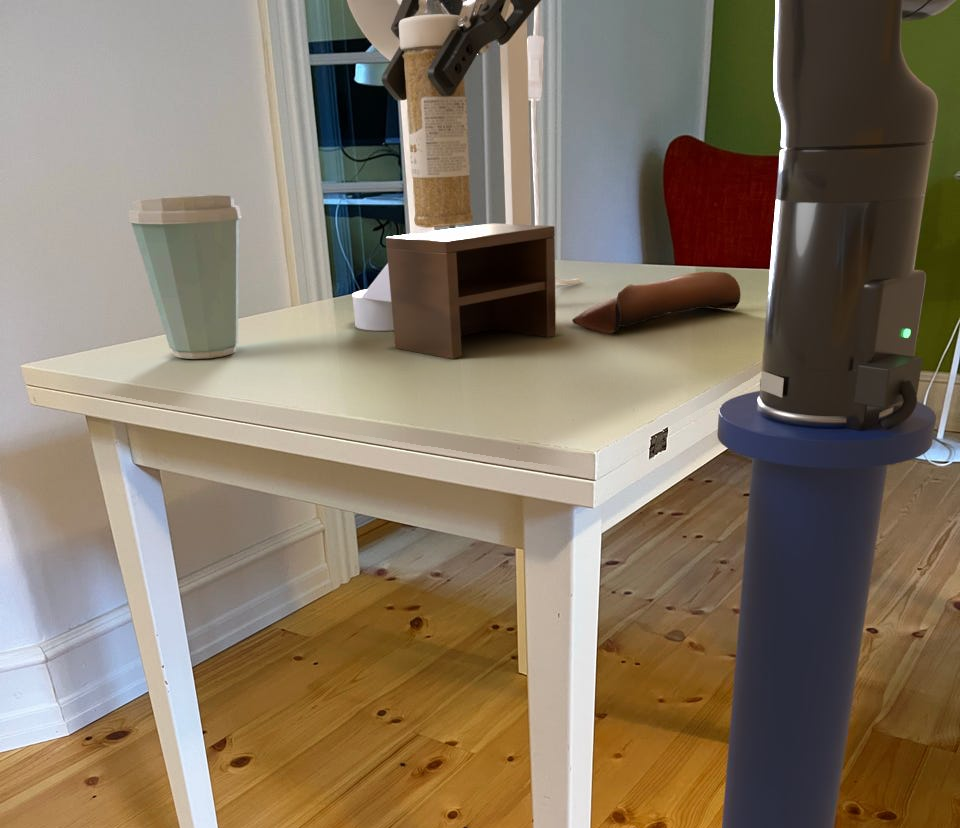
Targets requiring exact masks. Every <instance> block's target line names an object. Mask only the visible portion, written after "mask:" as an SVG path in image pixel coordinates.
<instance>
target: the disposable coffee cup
mask: <svg viewBox="0 0 960 828" xmlns="http://www.w3.org/2000/svg"><path fill="white" fill-rule="evenodd" d="M242 218H243V215H242V212H241V207H240V206H239V205H238V204H237V205H236V204H235V198H234V197H232V196H230V195H220V194H219V195H217V194H216V195H215V194H206V195H205V194H204V195H203V194H201V195H183V196H182V195H179V196H178V195H177V196H176V195H175V196H160V197H152V198H144V199H143V198H142V199H138V200H133V201H132V209H130V210H129V211H128V219H129V221H128V223H130V224H131V227H132V230H133V233H134V236H135V239H136V240H135V241H136V243H137V246H138V250H139V252H140V255H141V259H142V263H143V265H144V269H145V271H146V275H147V279H148V282H149V285H150V289H151V291H152V295H153V298H154V302H155V305H156V309H157V311H158V314H159V317H160V321H161V324H162V327H163V331H164V333H165V334H164V335H165V337H166V341H167V343H168V346H169V349H171V350H172V353H173V356H174V357H177V358H179V359H191V360H199V359H214V358H220V357H226V356H229V355H232V354H235V352H236V350H237V344H239V289H240V287H239V284H240V283H239V280H240V278H239V273H240V220H241V219H242Z"/></svg>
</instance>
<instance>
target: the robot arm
mask: <svg viewBox="0 0 960 828" xmlns="http://www.w3.org/2000/svg"><path fill="white" fill-rule="evenodd" d="M541 1H542V0H402V2H401V5H400V7H399V9H398V12H397V14H396V17H395V19H394V21H393V24H392V26H391V31H392V32H393V33H394V35H395V36H396V37H397V39H398V40H399V41H400V38H399V22H400V20H402V19H404V18H409V17H413V16H420V15H433V14H443V12H442V11H441V10H442V5H441V3H442V4H443V6H444V7H445V9H446V10H447V12H448V13H449V14H450V15H458V16H459V18H458V21H457V26H458V27H459V29H460V30H458V29H455V30H451V32H450V34H449V35H448V37H447V39H446V40H445V42H444V44H443V45H442V47H441V49H440V50H439V52H438V54H437V55H436V57H435V59H434V60H433V62H432V64H431V65H430V67H429V69H428V72H427V75H428V79H429V80H430V82H431V83H432V84H433V86H434V87H435V88H436V90H437V91H438V92H439V94H440V95H441V96H452V95H453V94H454V92H455V91H456V89H457V87H458V86H459V84H460V82H461V81H462V79H463V77H464V78H465V76H466V74H467V73H468V70H469V69H470V67H471V66H472V64H473V62H474V61H475V59H476V57H477V56H482V55H483V54H485V53H486V52H488V50H489V49H490V47H491V45H492V42H494V41H496V43H497V44H498V46H500V45H504V44H505V43H507V42H508V41H509V40H510V39H511V38H512V36H513V35H514V34H515V32H516V31H517V30H518V29H519V27H520V26H521V25H522V24H523V22H524V21H525V20H526V19H527V20H528V18H529V16H530V15H532V14H531V13H533V11H534V9H535V7H536V6H537V5H538V4H539V2H540V3H541ZM956 1H957V0H775V9H774V10H775V13H774V43H773V45H774V47H773V69H772V70H773V73H772V75H773V76H772V78H773V79H772V82H773V84H772V85H773V94H774V100H775V104H776V108H777V112H778V114H779V120H780V124H781V125H780V127H781V129H780V130H781V132H780V146H779V147H780V149H779V156H778V168H777V169H778V170H777V181H776V191H775V205H774V217H773V227H772V239H771V253H770V262H769V263H770V264H769V275H768V287H767V288H768V289H767V298H766V299H767V300H766V311H765V322H764V323H765V324H764V335H763V346H762V363H761V373H760V375H761V376H760V381H759V387H760V388H759V391H760V395H759V396H758V402H757V411H758V413H759V414H760V415H762V416H763V417H765V418H767V419H770V420H772V421H776V422H779V423H783V424H788V425H793V426H800V427H809V428H824V429H851V430H856V431H864V430H866V429H869V428H871V427H873V426H876V425H878V424H881V425H882V426H883V427H884V428H885V429H887V430H890V429H891V428H893V427H894V426H896V425H898V424H900V423H902V422H903V421H905V420H906V419H908V418H909V417H910V416H911V414H912V413H913V411H914V410H915V407H916V404H917V402H918V391H919V385H920V378H921V374H922V373H921V372H922V367H923V359H924V358H923V357H921V356H915V354H916V353H915V352H916V347H917V339H918V334H919V326H920V321H921V314H922V308H923V301H924V294H925V288H926V287H925V286H926V281H927V273H926V272H925V271H924V270H921V269H915V266H916V259H917V252H918V245H919V239H920V234H921V233H920V232H921V225H922V218H923V212H924V205H925V200H926V199H925V197H926V192H927V184H928V179H929V172H930V165H931V159H932V150H933V145H934V143H933V141H934V139H935V132H936V127H937V126H936V125H937V120H938V119H937V118H938V111H939V101H938V97H937V94H936V92H935V91H934V90H933V89H932V88H931V87H929V86H928V85H926V84H925V83H924V82H923V81H921V80H920V79H919V78H918V77H917V76H916V75H915V74H914V73H913V72H912V70H911V69H910V67H909V66H908V64H907V61H906V60H905V55H904V53H903V49H902V22H910V21H919V20H923V19H928V18H932V17H934V16H936V15H938V14H941V13H942V12H944V11H946V10H947V9H948V8H950V6H952V5H953V4H954V3H955V2H956ZM511 3H512V4H513V6H514V10H513V12H512V14H511V15H510V16H509V17H508V19H507V20H506V21H505V18H506V15H507V12H508V9H509V5H510V4H511ZM403 54H404V51H403V50H401V48H400V47H399V48H398V50H397V51H396V53H395V55H394V56H393V58H392V60H391V61H390V60H389V61H390V62H389V63H388V65H387V67H386V68H385V70H384V71H383V73H382V75H381V83H382V85H383V86H384V88H385V89H386V90H387V91H388V93H389V94H390V95H391V96H392V98H393V99H394V100H395V101H396V102H397V101H398V102H400V100H406V99H407V94H406V80H405V67H404V58H403Z"/></svg>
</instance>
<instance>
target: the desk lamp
mask: <svg viewBox="0 0 960 828" xmlns="http://www.w3.org/2000/svg"><path fill="white" fill-rule="evenodd" d="M346 2H347V5H348V7H349V11H350V12H351V15H352V17H353V19H354V20H355V22H356V24H357V25H358V28H359V29H360V30H361V32H362V34H363V35H364V36H365V38H366V39H367V41H369V43H370V44H371V45H372V46H373V47H374V48H375V49H376V50H377V51H378V52H379V53H380V54H381V55H382V56H383V57H384V58H385V59H387V60H388V61H391V60H392V58H393V56H394V55H395V53H396V51H397V50H398V48H399V47H400V41H399V40H398V39H397V37H396V36H395V35H394V33H393V32H392V31H391V26H392V24H393V21H394V19H395V17H396V14H397V12H398V9H399V7H400V5H401V2H402V0H346ZM441 5H442V10H441V11H442V12H443V14H449V13H448V12H447V10H446V9H445V7H444V6H443V4H442V3H441ZM540 6H541V1H540V2H539V4H538V5H537V6H536V7H535V9H534V10H533V11H534V12H533V33H532V35H528V18H527V19H526V20H525V21H524V22H523V24H522V25H521V26H520V27H519V29H518V30H517V31H516V32H515V34H514V35H513V36H512V38H511V39H510V40H509V41H508V42H507V43H505V44H504V45H499V61H500V62H499V63H500V91H501V94H500V95H501V118H502V119H501V120H502V123H501V124H502V145H503V146H502V149H503V152H502V153H503V178H504V179H503V180H504V183H503V184H504V206H505V207H504V210H505V224H518V225H532V195H531V193H532V192H531V189H532V187H531V157H532V177H533V179H532V180H533V198H534V199H533V200H534V201H533V202H534V225H540V226H541V216H540V185H539V183H540V182H539V163H538V162H539V160H538V138H537V136H538V135H537V134H538V133H537V130H538V129H537V102H539V101H541V100H542V97H543V96H542V95H543V79H544V78H543V77H544V54H545V53H544V51H545V37H544V36H543V35H539V31H540V11H541V10H540V8H541V7H540ZM513 10H514V6H513V4H512V3H511V4H510V5H509V9H508V12H507V15H506V18H505V21H506V20H507V19H508V17H509V16H510V15H511V14H512V12H513ZM449 15H450V14H449ZM399 102H400V103H399V104H400V113H401V114H400V115H401V128H402V129H401V130H402V140H403V141H402V142H403V143H402V144H403V154H404V168H405V180H406V181H405V182H406V195H407V208H408V209H407V210H408V221H409V222H408V223H409V234H415V233H423V232H431V231H436V230H435V227H430V228H427V227H420V226H417V225H416V224H415V222H414V217H415V200H414V188H413V178H412V174H411V160H410V146H409V132H408V118H407V108H408V107H407V99H406V100H400V101H399ZM529 103H530V106H529ZM530 123H531V145H530ZM581 281H582V280H581V277H577V278H573V279H572V278H571V279H561V278H557V277H555V284H557V285H560V286H561V285H563V286H570V285H575V284H580V283H581Z"/></svg>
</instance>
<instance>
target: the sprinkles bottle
mask: <svg viewBox="0 0 960 828" xmlns="http://www.w3.org/2000/svg"><path fill="white" fill-rule="evenodd" d="M458 18H459V16H458V15H449V14H433V15H420V16H413V17H409V18H404V19H402V20H400V22H399V38H400V48H401V50H403V51H404V54H403V58H404V67H405V80H406V94H407V107H408V108H407V118H408V132H409V146H410V160H411V174H412V178H413V188H414V200H415V217H414V222H415V224H416V225H417V226H420V227H427V228H430V227H434V228H440V227H441V228H442V227H456V226H457V227H458V226H464V225H468V224H470V223H472V222H473V221H474V215H473V213H472V210H471V209H472V208H471V205H472V203H471V193H470V192H471V190H470V175H471V166H470V164H471V163H470V148H469V147H470V145H469V127H468V105H467V104H468V103H467V96H466V87H465V76H464V77H463V79H462V81H461V82H460V84H459V86H458V87H457V89H456V91H455V92H454V94H453V95H452V96H441V95H440V94H439V92H438V91H437V90H436V88H435V87H434V86H433V84H432V83H431V82H430V80H429V79H428V75H427V72H428V69H429V67H430V65H431V64H432V62H433V60H434V59H435V57H436V55H437V54H438V52H439V50H440V49H441V47H442V45H443V44H444V42H445V40H446V39H447V37H448V35H449V34H450V32H451V30H455V29H458V30H460V29H459V27H458V26H457V21H458Z"/></svg>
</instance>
